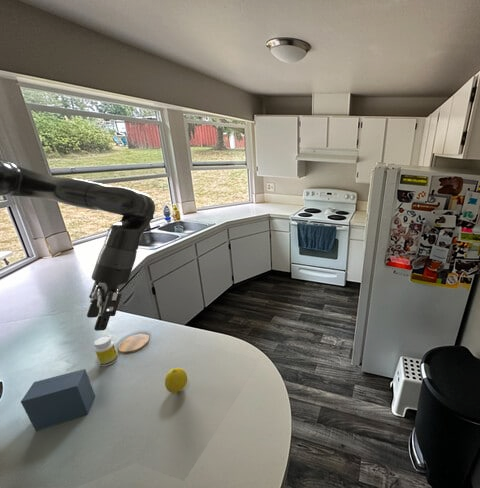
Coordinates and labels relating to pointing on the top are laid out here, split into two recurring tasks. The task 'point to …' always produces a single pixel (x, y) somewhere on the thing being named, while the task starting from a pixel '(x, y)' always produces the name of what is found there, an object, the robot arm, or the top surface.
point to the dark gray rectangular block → (58, 399)
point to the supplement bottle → (105, 351)
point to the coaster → (133, 343)
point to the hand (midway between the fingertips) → (95, 323)
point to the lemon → (175, 380)
